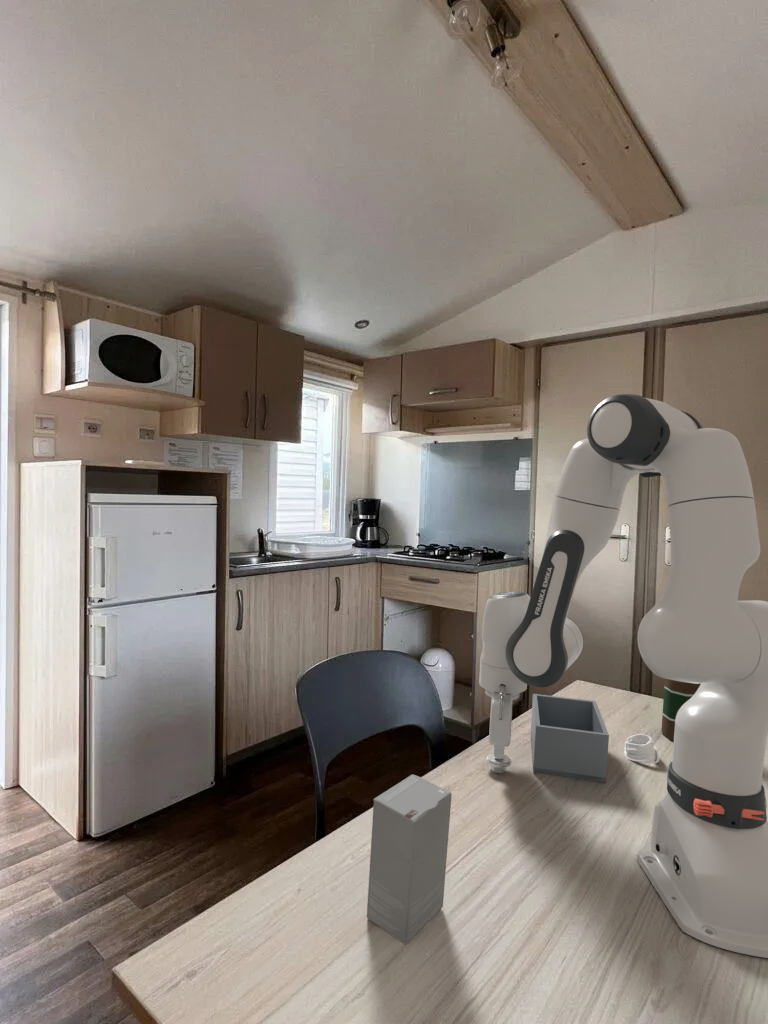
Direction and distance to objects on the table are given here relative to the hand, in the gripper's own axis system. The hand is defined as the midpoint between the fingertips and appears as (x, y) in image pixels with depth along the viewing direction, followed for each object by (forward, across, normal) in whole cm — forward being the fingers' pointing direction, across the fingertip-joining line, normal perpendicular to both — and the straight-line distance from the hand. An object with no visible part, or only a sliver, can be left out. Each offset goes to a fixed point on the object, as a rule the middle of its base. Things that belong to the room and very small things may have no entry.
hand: (499, 749), depth 112 cm
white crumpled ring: (+4, +14, -28) cm, 32 cm away
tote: (+4, +10, -13) cm, 17 cm away
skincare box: (+4, -42, +10) cm, 43 cm away
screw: (+4, 0, 0) cm, 4 cm away
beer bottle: (+4, +28, -39) cm, 48 cm away
